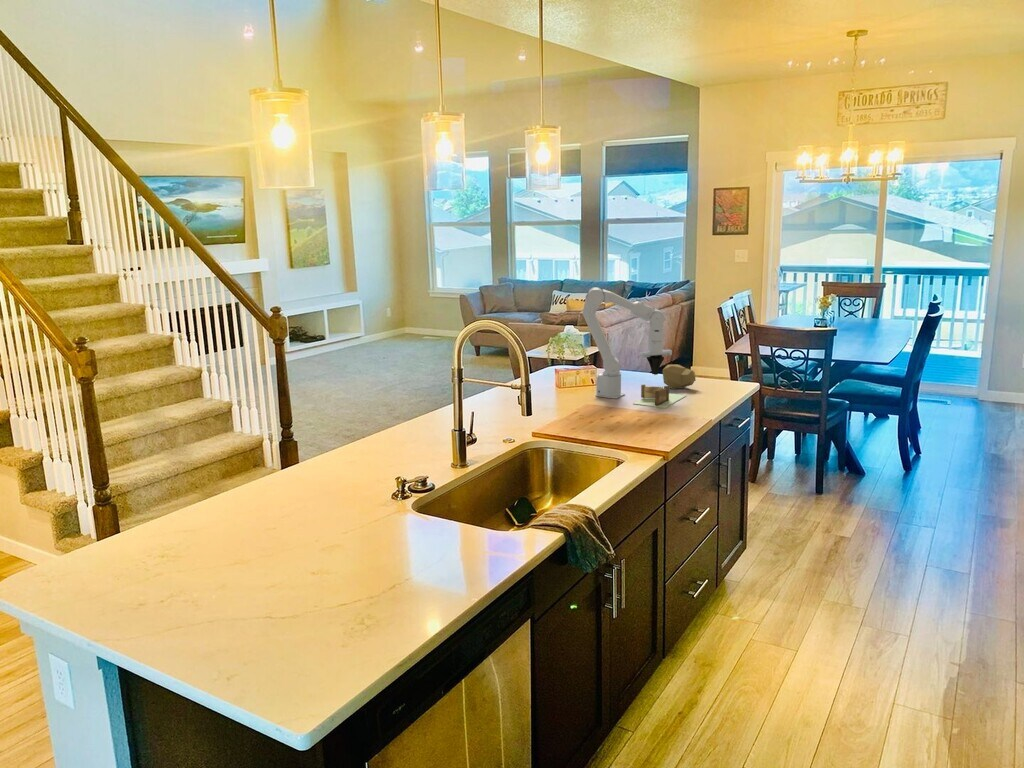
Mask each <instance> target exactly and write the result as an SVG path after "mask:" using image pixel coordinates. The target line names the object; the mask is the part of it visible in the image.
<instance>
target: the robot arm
mask: <svg viewBox="0 0 1024 768" xmlns="http://www.w3.org/2000/svg"><path fill="white" fill-rule="evenodd" d="M603 302H604V304H610V303H612V304H615V305H617V306H620V307H622V308H624V309H627V310H629V311H630V314H631V315H633V316H634V317H637V318H639V319H641V320H643V321H645V322H646V321H649V325H648V326H649V327H648V345H647V350H645V351H642V352H638V358H639V359H644V358H646V360H647V361H648V364H649V366H650V370H651V374H652V375H654V376H656V375H659V370H660V368H661V365H662V364H663V361H664V360H665V357H664V356H672V355H673V350H672V349H664V324H665V321H666V319H665V318H666V317H665V314H664V313H663V312H662V311H661V310H660V309H658V308H656V307H655V306H649V305H648V304H645V302H644V301H642V300H640V301H638V300H637V301H634V302H633V301H631V300H629V299H627V298H625V297H622V296H620V295H619V294H616V293H615V292H613V291H609V290H607V289H604V288H603V289H601V287H598V286H597V287H596V286H594V287H591V288H590V289H589V290H588V292H587V293H586V295H585V300H584V303H583V304H584V305H583V309H582V316H583V318H584V320H585V323H586V325H587V327H588V329H589V331H590V335H591V336H592V337H593V341H594V343H595V345H596V347H597V349H598V351H599V354H600V356H601V359H602V361H603V366H604V371H603V372H602V373H601V372H600V373H598V374H597V377H596V381H595V382H596V383H595V384H596V385H595V386H596V387H595V388H596V391H595V393H596V394H595V397H600V398H609V399H619V398H621V397H624V396H625V394H626V393H623V392H622V372H620V371H621V363H620V360H619V358H618V357H617V356H615V354H614V352H613V350H612V348H611V346H610V344H609V342H608V338H606V335H605V332H604V330H603V328H602V327H601V324H600V322H599V320H598V318H597V317H598V316H597V314H596V313H597V311H598V308H599V307H600V306H601V305H602V304H603Z"/></svg>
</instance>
